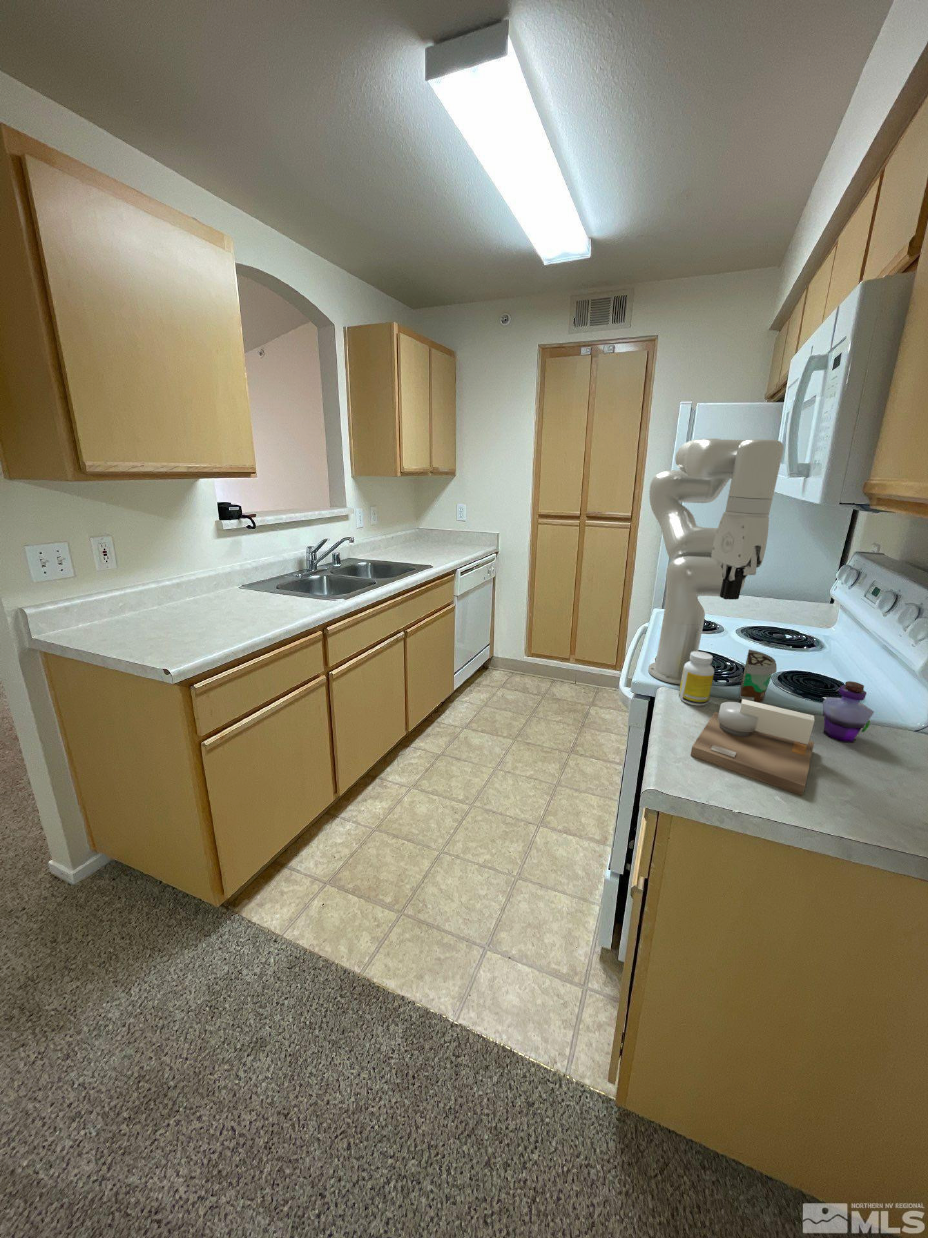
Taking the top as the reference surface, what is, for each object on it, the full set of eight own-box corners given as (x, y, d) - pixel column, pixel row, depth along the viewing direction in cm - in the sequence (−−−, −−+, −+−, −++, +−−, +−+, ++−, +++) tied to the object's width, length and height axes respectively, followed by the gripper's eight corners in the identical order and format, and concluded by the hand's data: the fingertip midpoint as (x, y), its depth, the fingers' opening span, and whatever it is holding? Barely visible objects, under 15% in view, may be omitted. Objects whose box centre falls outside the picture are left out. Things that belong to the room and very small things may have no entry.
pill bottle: (711, 708, 112) (721, 661, 108) (681, 705, 113) (690, 658, 109) (703, 695, 118) (712, 651, 114) (675, 692, 119) (683, 648, 115)
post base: (713, 720, 107) (715, 707, 106) (811, 751, 96) (815, 737, 95) (690, 755, 93) (693, 741, 92) (802, 796, 83) (806, 781, 82)
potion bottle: (870, 751, 97) (888, 697, 93) (818, 740, 100) (833, 687, 96) (859, 731, 104) (875, 680, 100) (811, 721, 107) (825, 671, 104)
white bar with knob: (716, 725, 98) (721, 703, 96) (719, 711, 104) (723, 690, 102) (808, 750, 90) (815, 726, 89) (806, 733, 96) (812, 710, 94)
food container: (769, 711, 111) (779, 671, 108) (738, 704, 114) (748, 665, 111) (768, 691, 122) (777, 654, 119) (740, 685, 125) (748, 648, 121)
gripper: (707, 503, 101) (691, 589, 107) (756, 510, 87) (735, 609, 93) (740, 504, 102) (723, 589, 108) (794, 511, 88) (771, 609, 94)
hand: (728, 598), depth 100 cm, fingers closed
